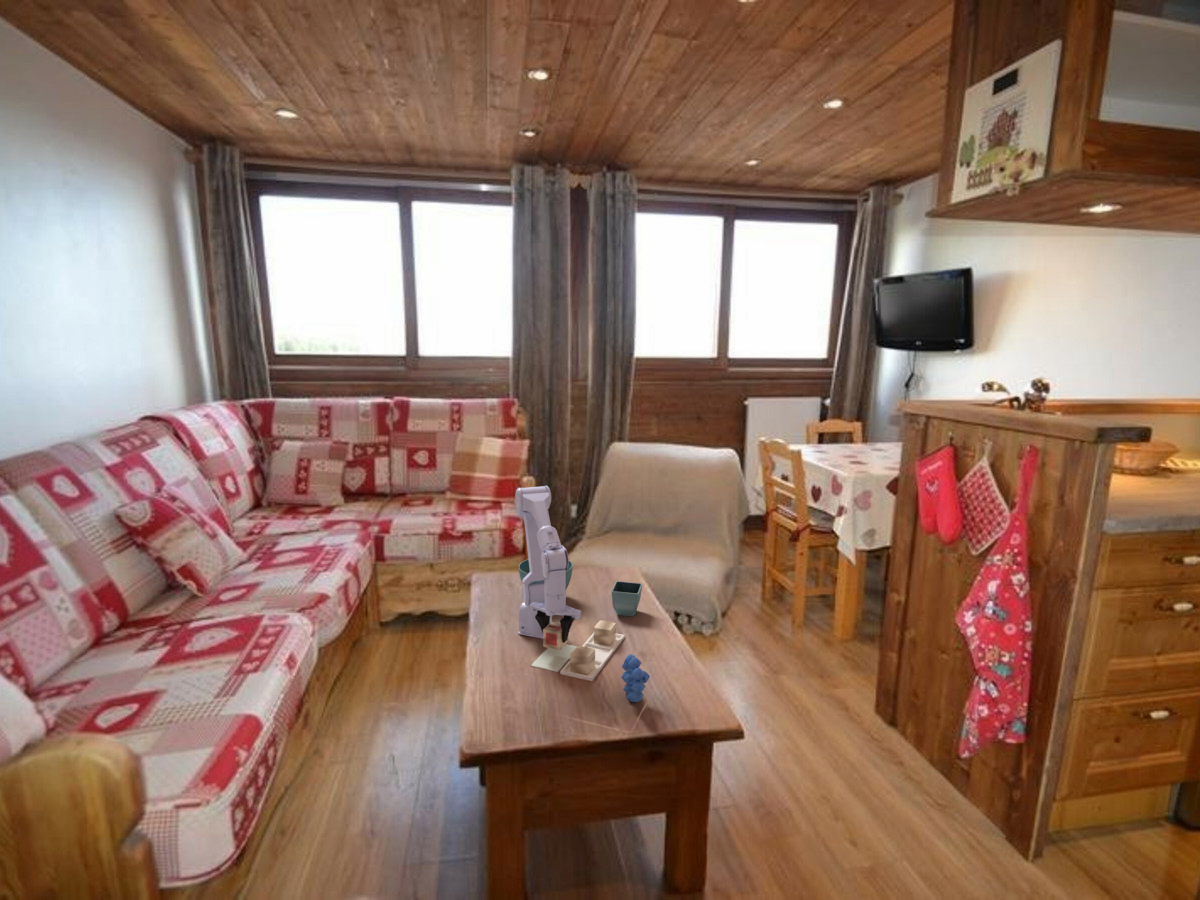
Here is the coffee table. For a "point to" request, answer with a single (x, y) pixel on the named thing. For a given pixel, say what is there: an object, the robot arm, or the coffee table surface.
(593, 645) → the sorting tray
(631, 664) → the grapes
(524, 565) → the teal round bowl
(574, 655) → the plain cube near
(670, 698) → the coffee table surface
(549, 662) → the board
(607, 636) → the plain cube far
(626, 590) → the flower pot
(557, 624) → the lettered cube
